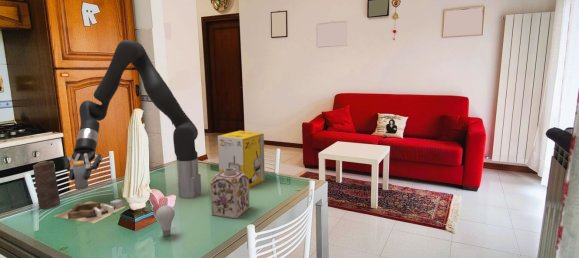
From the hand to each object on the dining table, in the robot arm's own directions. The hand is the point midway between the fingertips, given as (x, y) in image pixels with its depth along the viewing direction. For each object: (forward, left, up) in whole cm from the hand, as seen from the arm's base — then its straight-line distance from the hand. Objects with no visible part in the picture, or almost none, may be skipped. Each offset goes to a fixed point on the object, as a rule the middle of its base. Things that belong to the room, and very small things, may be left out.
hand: (79, 179), depth 131 cm
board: (0, -4, -16) cm, 16 cm away
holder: (+1, -2, -15) cm, 15 cm away
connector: (+1, -2, -4) cm, 5 cm away
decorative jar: (-53, -22, -16) cm, 60 cm away
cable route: (-7, -5, -15) cm, 17 cm away
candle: (+22, -3, -16) cm, 27 cm away
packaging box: (-42, -56, -16) cm, 72 cm away
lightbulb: (-41, +3, -16) cm, 44 cm away
